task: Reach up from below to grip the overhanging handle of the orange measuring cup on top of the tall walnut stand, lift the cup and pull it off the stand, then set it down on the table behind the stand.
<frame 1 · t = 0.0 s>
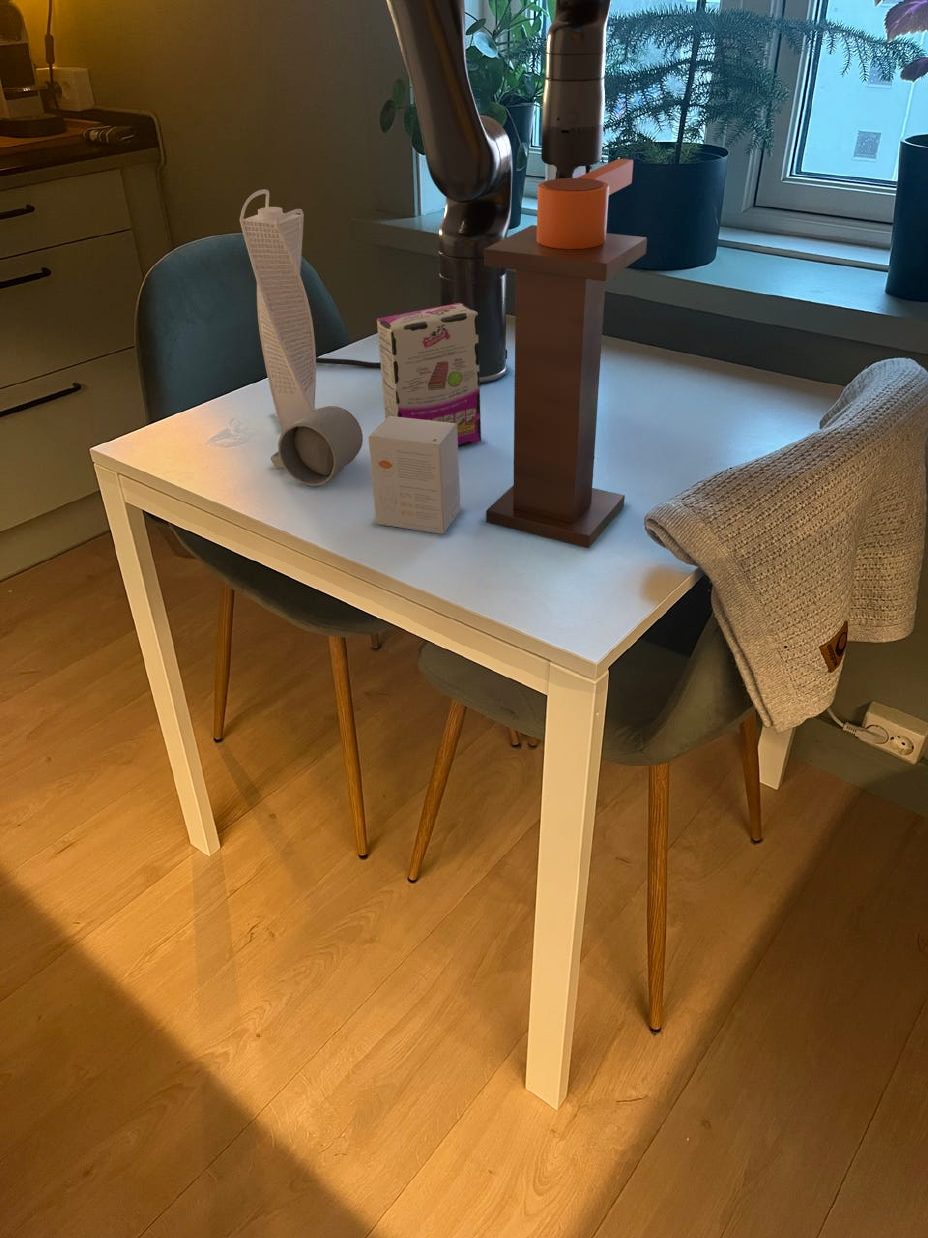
hand: (567, 256, 127), 17 cm above the table, tool pointing down, fingers open, 8 cm apart
ceramic mug: (315, 473, 115), on the table
skyscraper: (297, 421, 127), on the table
tall walnut stand: (555, 514, 105), on the table
orange measuring cup: (570, 240, 89), point 29 cm above the table, touching tall walnut stand
small box: (418, 519, 105), on the table
candy bar box: (433, 446, 120), on the table
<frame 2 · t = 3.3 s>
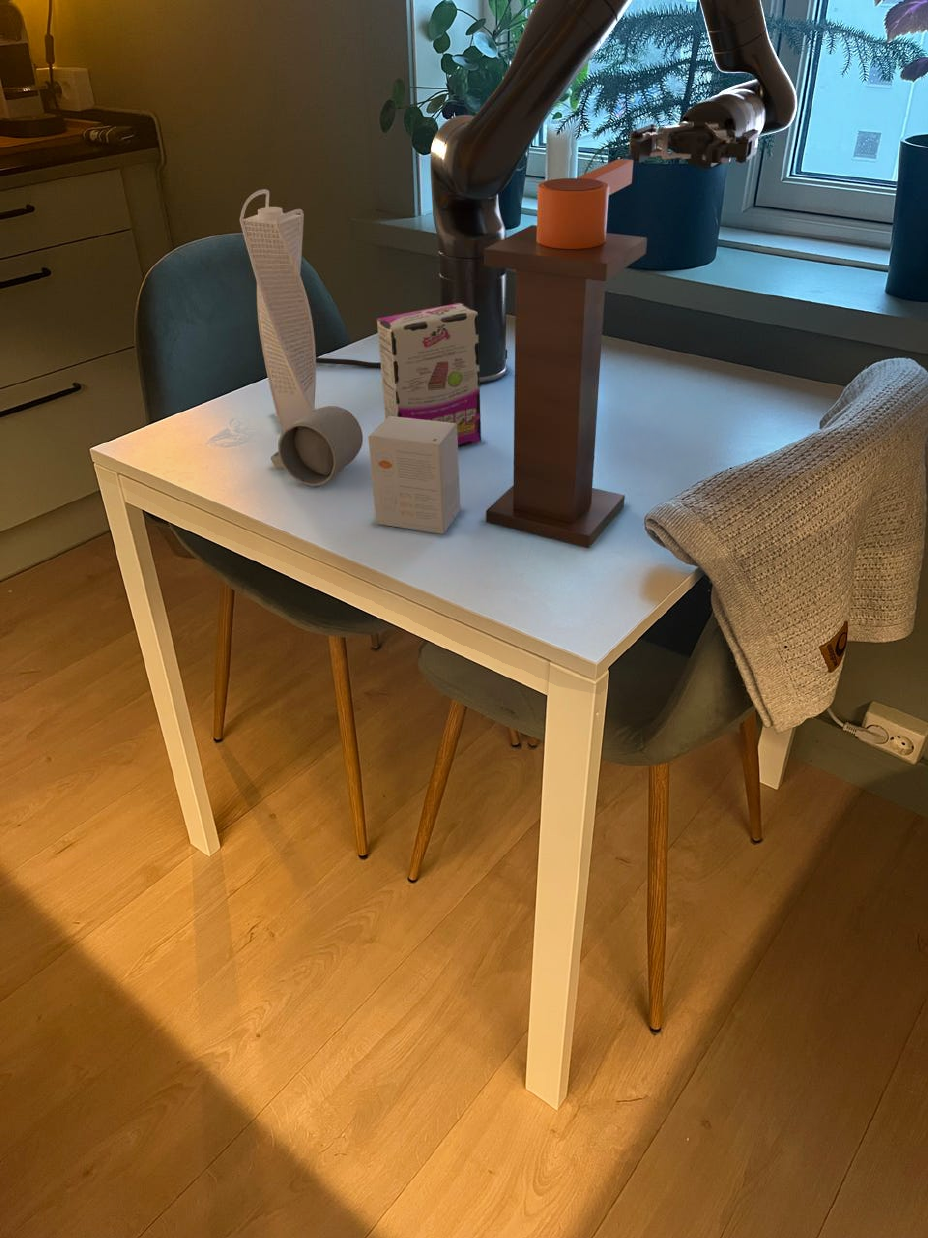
hand: (672, 154, 108), 31 cm above the table, tool horizontal, fingers open, 8 cm apart
nothing on the table moved.
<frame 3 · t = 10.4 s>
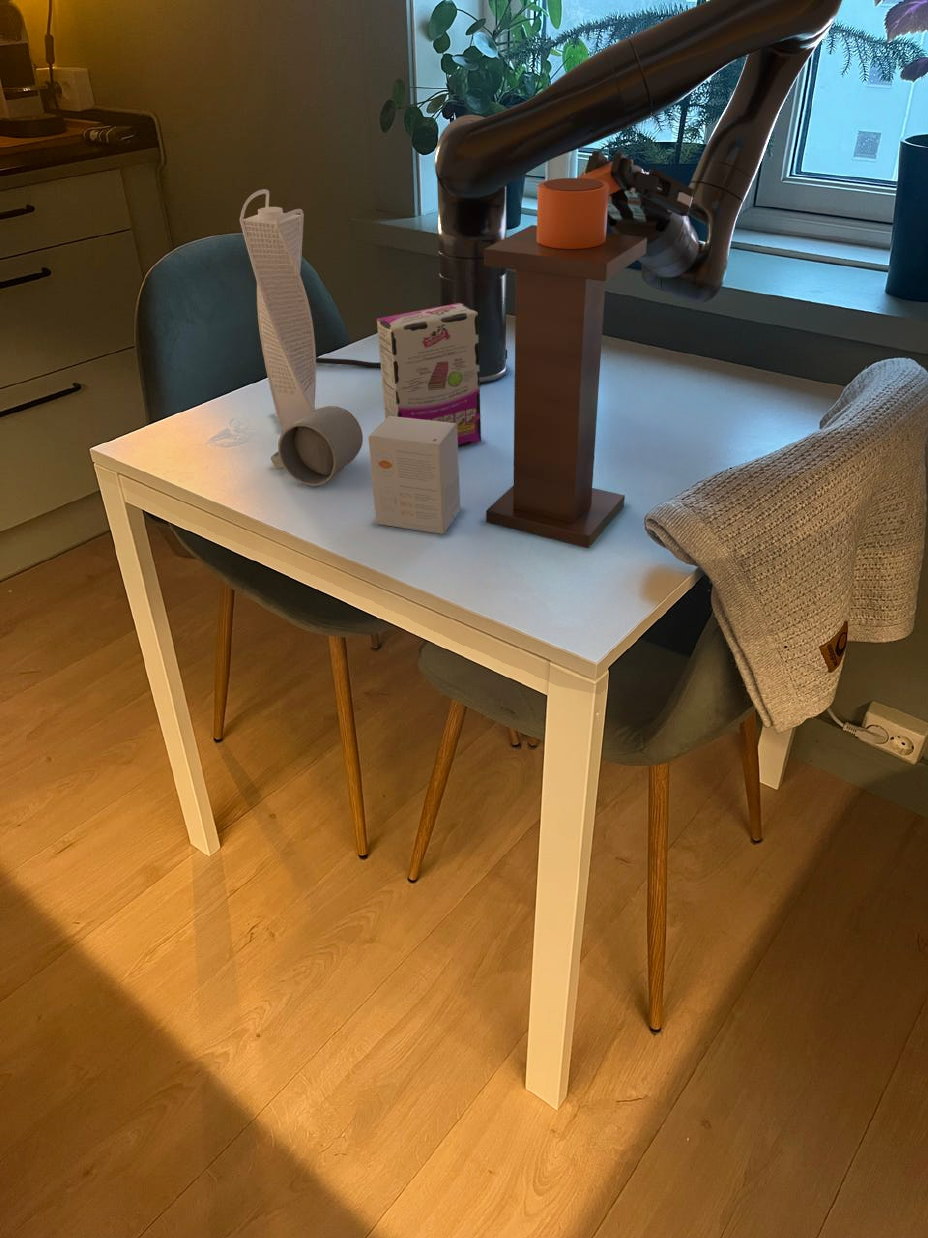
hand: (605, 162, 91), 34 cm above the table, tool pointing upward, fingers closed on orange measuring cup
orange measuring cup: (571, 240, 89), point 29 cm above the table, touching gripper, tall walnut stand
everything else where it was.
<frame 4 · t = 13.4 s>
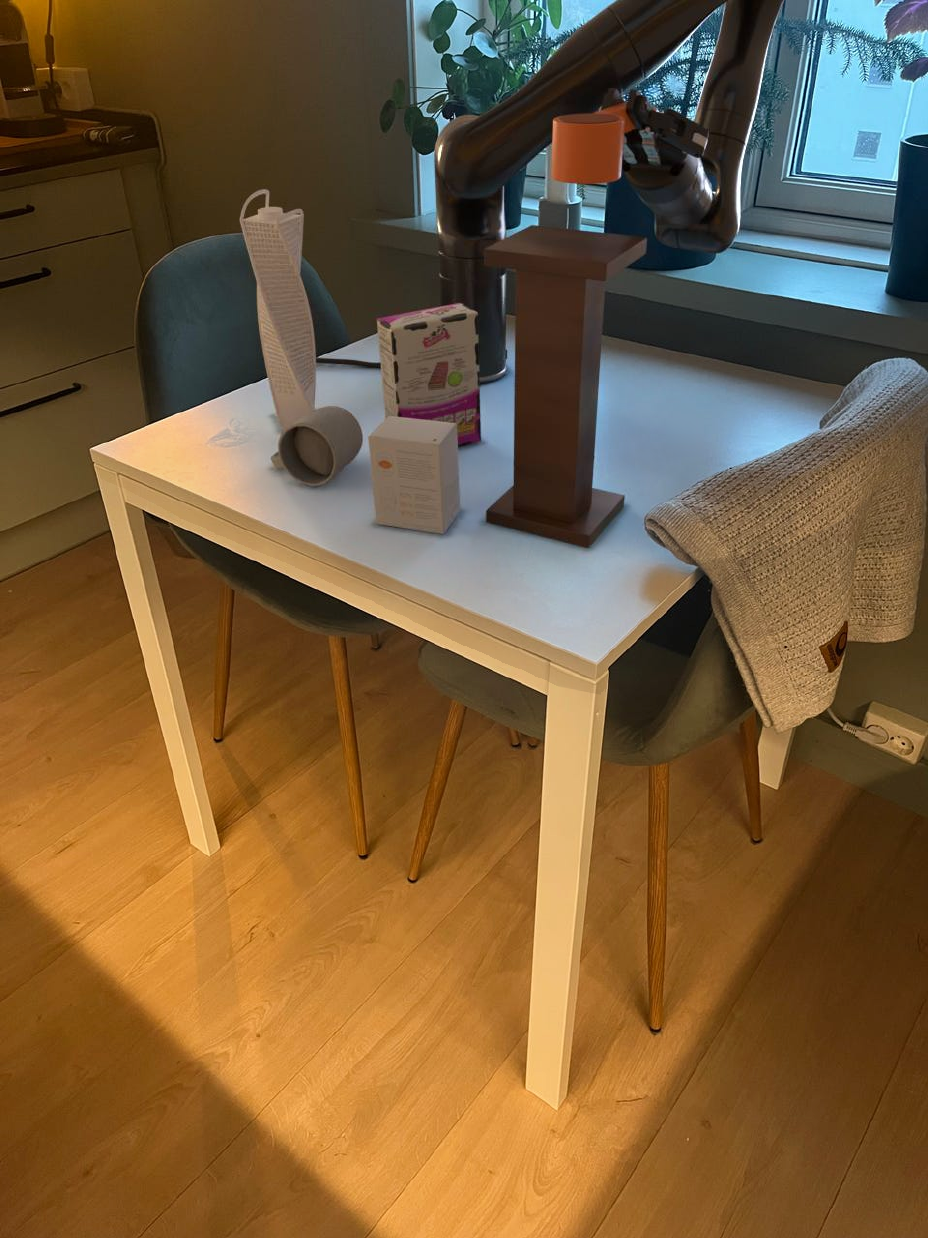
hand: (620, 99, 91), 39 cm above the table, tool pointing upward, fingers closed on orange measuring cup
orange measuring cup: (586, 176, 89), point 33 cm above the table, touching gripper
everything else where it was.
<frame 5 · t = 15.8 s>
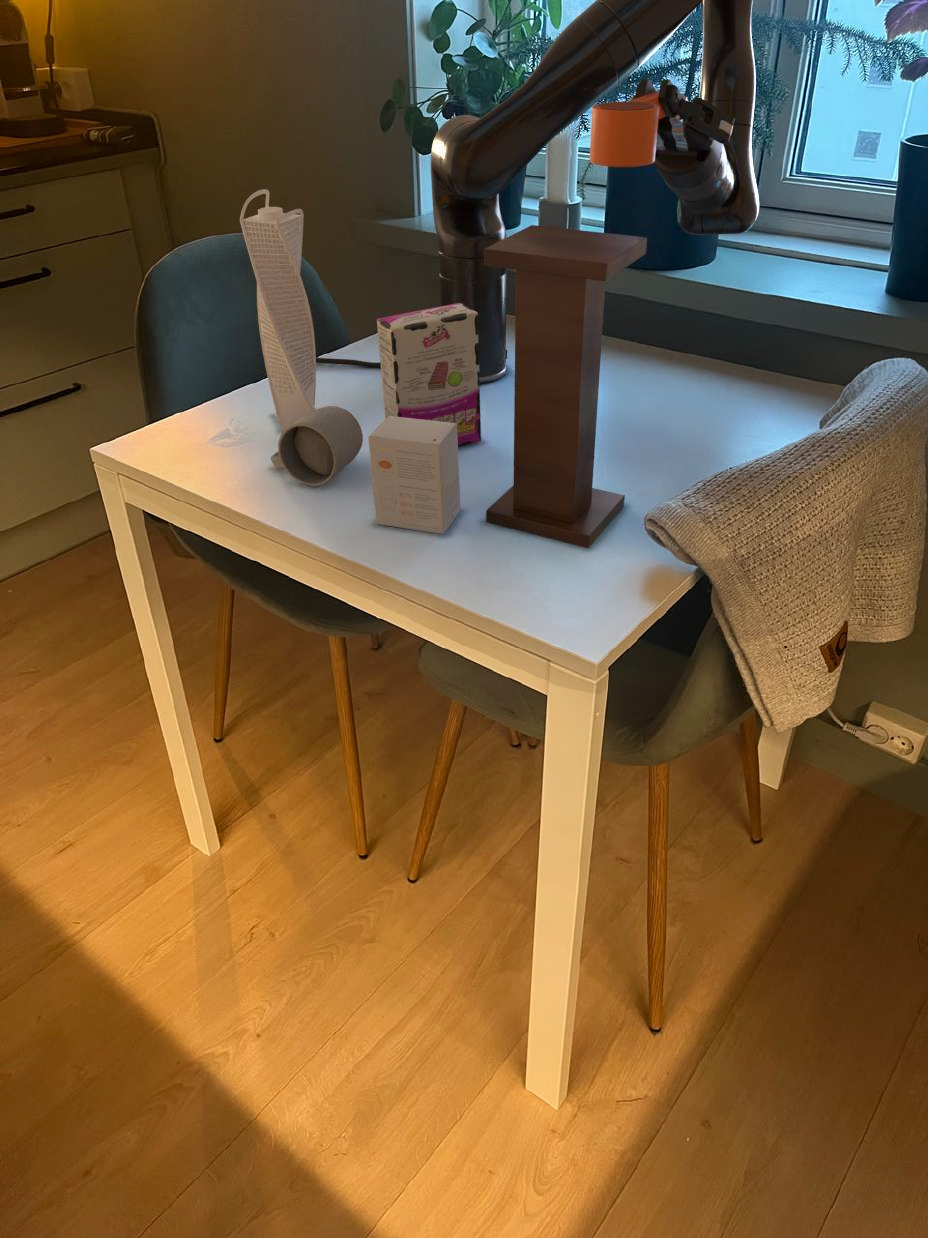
hand: (653, 88, 97), 39 cm above the table, tool pointing upward, fingers closed on orange measuring cup
orange measuring cup: (622, 160, 95), point 33 cm above the table, touching gripper
everything else where it was.
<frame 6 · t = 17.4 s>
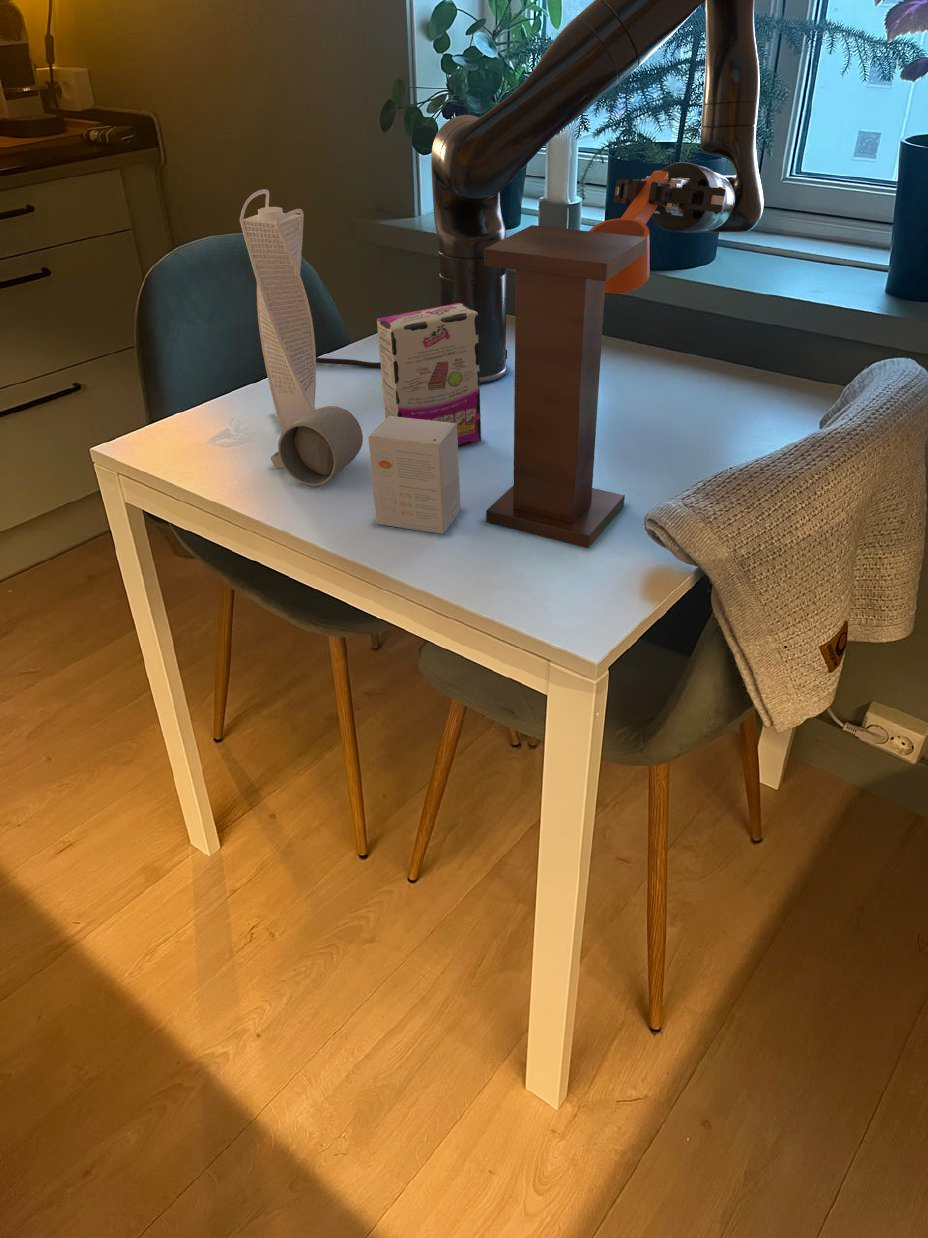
hand: (643, 191, 101), 29 cm above the table, tool horizontal, fingers closed on orange measuring cup
orange measuring cup: (618, 276, 102), point 22 cm above the table, tilted 17°, touching gripper
everything else where it was.
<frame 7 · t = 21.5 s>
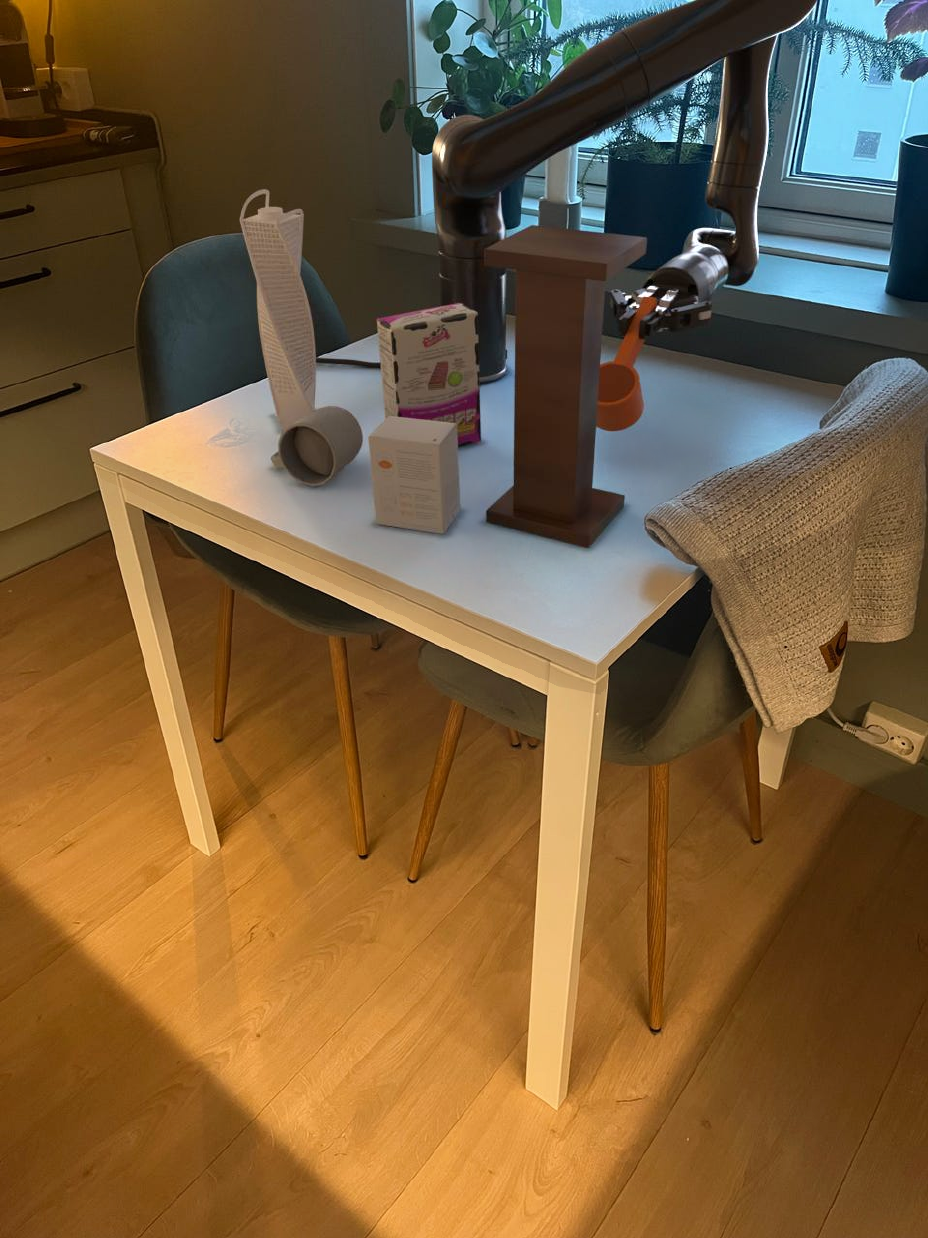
hand: (633, 329, 111), 14 cm above the table, tool horizontal, fingers closed on orange measuring cup
orange measuring cup: (616, 409, 113), point 6 cm above the table, tilted 31°, touching gripper
everything else where it was.
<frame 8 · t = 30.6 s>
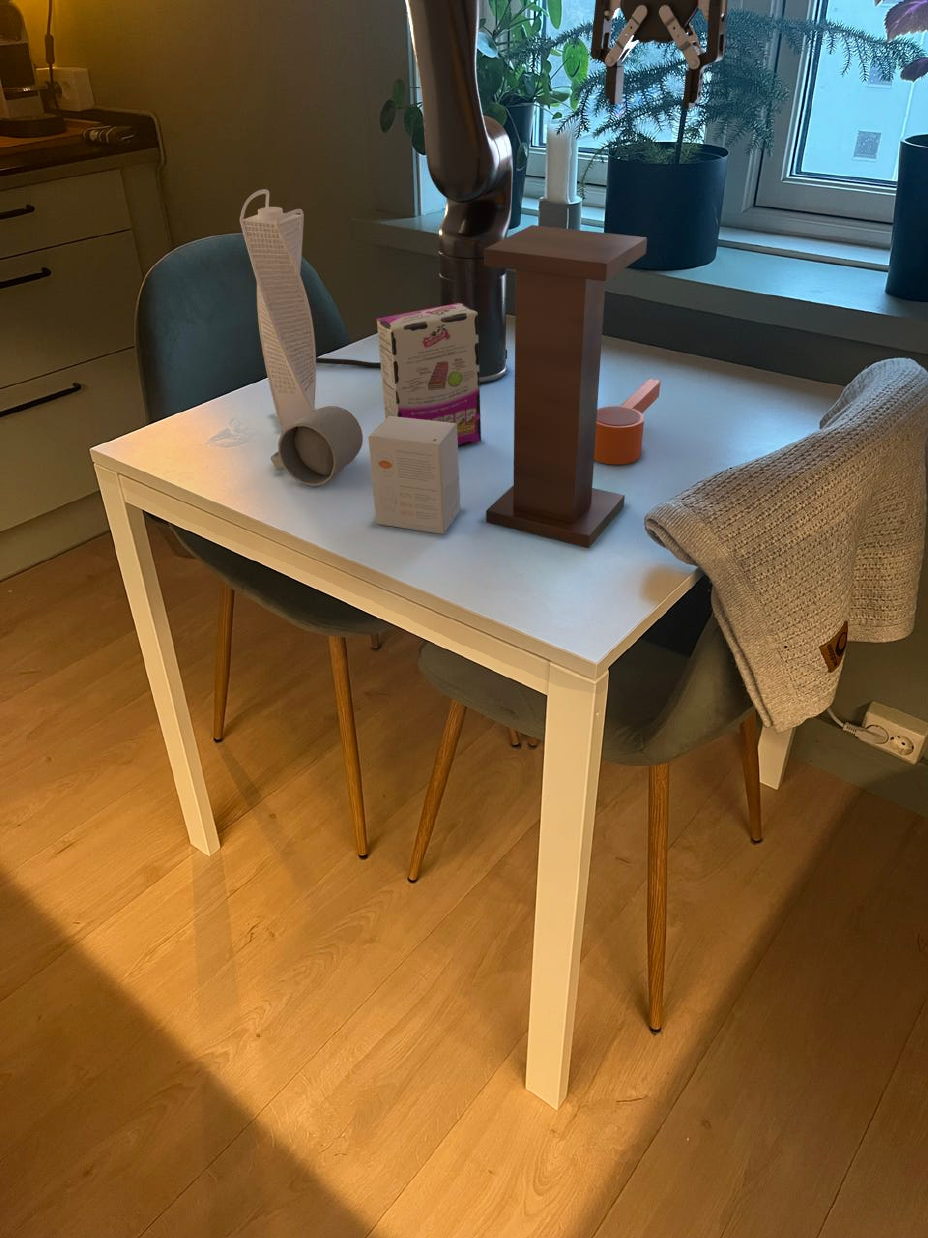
hand: (651, 106, 106), 36 cm above the table, tool pointing down, fingers open, 8 cm apart
orange measuring cup: (614, 453, 117), on the table
everything else where it was.
at the end: orange measuring cup inside the target area (0.1 cm from its centre), on the table; orange measuring cup tilted 0°; the gripper is holding nothing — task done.
